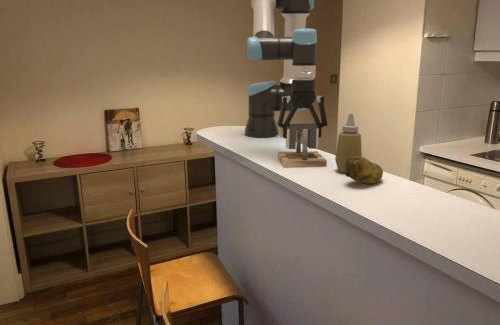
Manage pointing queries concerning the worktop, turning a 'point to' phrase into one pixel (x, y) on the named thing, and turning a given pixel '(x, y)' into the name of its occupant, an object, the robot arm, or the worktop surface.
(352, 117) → the squeeze bottle
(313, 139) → the grey notched block
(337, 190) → the worktop surface
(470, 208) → the worktop surface
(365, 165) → the potato
